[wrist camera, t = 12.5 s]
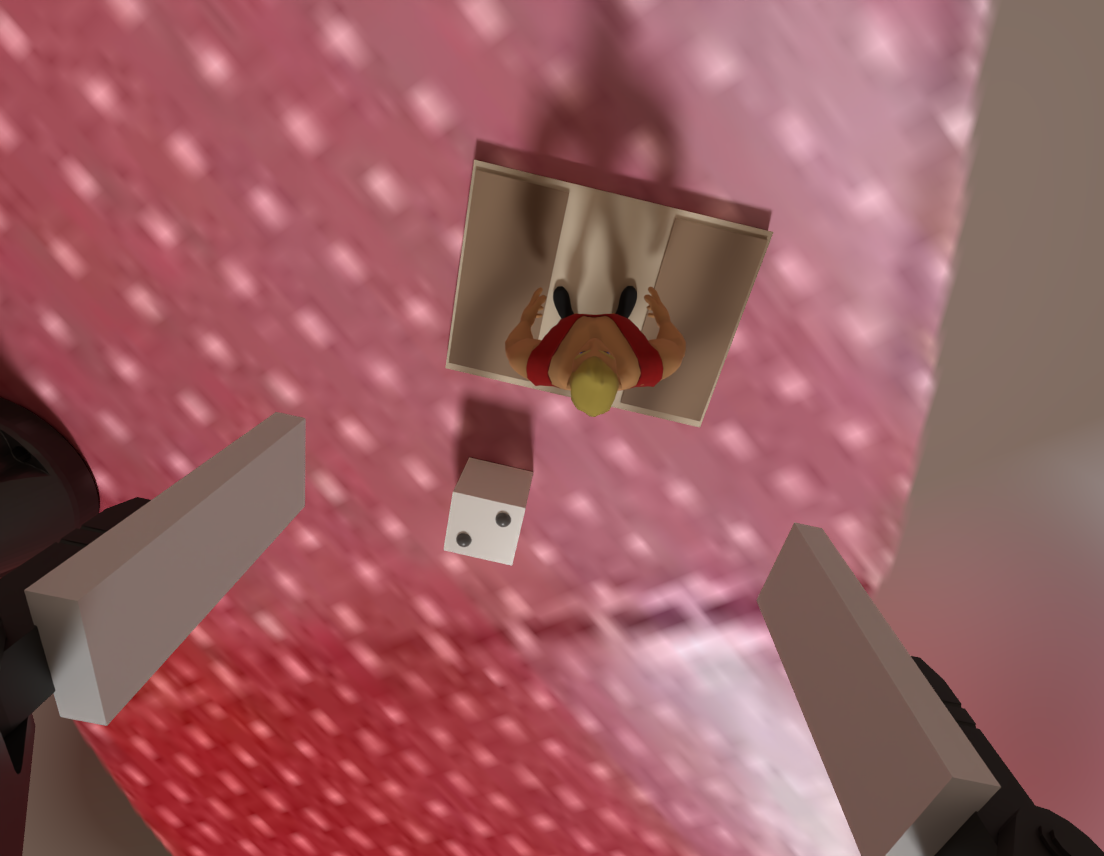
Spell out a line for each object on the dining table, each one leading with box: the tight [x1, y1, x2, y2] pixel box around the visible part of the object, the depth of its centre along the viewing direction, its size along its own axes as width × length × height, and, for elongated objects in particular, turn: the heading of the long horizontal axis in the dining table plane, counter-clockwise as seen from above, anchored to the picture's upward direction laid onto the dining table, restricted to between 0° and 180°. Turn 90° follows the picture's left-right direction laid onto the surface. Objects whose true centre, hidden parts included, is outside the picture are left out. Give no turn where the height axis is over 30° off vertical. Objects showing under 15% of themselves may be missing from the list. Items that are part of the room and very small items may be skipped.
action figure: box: [505, 286, 686, 417], centre depth 27 cm, size 10×4×15 cm, turn 91°
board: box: [446, 160, 773, 427], centre depth 34 cm, size 18×13×1 cm
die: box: [444, 457, 533, 565], centre depth 38 cm, size 5×5×6 cm
